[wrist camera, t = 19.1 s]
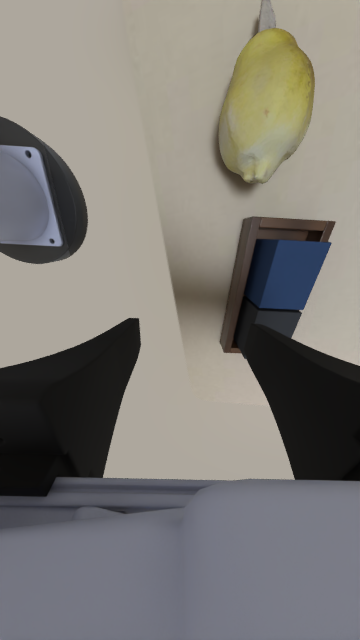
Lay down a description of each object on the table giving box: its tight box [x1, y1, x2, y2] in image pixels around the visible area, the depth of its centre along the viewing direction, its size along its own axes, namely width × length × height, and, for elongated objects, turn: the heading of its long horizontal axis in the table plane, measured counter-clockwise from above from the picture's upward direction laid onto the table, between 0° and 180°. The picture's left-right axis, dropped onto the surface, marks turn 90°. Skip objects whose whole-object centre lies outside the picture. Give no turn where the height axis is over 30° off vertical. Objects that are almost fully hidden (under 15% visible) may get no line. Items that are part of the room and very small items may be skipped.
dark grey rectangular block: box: [233, 296, 302, 359], centre depth 19 cm, size 4×6×4 cm
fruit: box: [219, 0, 315, 184], centre depth 11 cm, size 6×6×10 cm
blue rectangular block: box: [244, 239, 331, 310], centre depth 17 cm, size 4×6×4 cm
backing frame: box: [220, 217, 336, 353], centre depth 19 cm, size 8×15×2 cm, turn 177°
